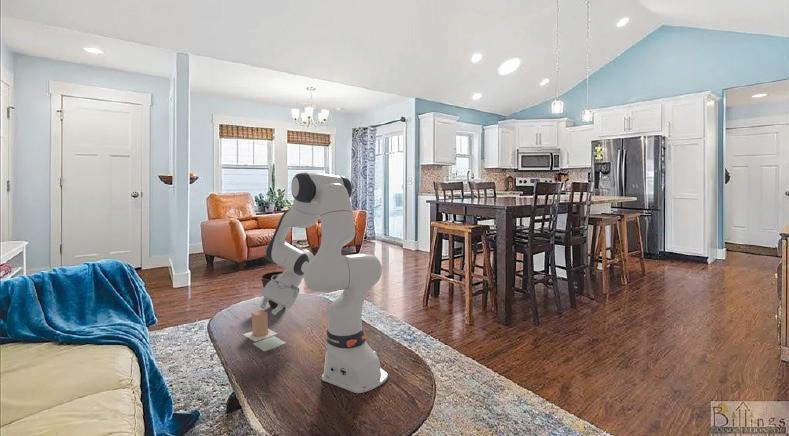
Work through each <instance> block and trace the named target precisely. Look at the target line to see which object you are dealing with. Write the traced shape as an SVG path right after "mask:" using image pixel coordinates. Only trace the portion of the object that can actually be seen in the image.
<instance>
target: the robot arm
mask: <svg viewBox="0 0 789 436" xmlns="http://www.w3.org/2000/svg"><path fill="white" fill-rule="evenodd" d="M290 190H291V195H292V197H293V202H292V207H291V208H290V209H289V208H288V209H287V210H285V211H284V212H283V213H282V215H281V217H280V219H279V221H278V223H277V226H276V228H275V230H274V232H273V235H272V238H271V240H270V241H269V243H268V245H267V246H266V249H265V256H266V259H267V260H268V261H270V262H271V263H274V264H277V265H278V266H280V267H281V268H283V269H285V270H283V271H282V272H283V273H282V274H279V275H273V276H272V277H271V281H269V282H268V283H267V285H266V286H265V287H264V288H263V289H262V290H261V293H260V295H261V296H262V297H263V298H262V300H261V304H260V305H259V308H261V310H265V309H266V307H267V304H268V303H269V302H268V301H269V300H271V301H273V302H275V303H277V304H278V305H277V307H276V308H275V309H271V311H270V313H271V314H272V315H274V316H276V315H277V314H278V313H279V312H281V311H282V310H283V309H284V308H283V307H285V308H286V309H288V310H289V309H290V308H292V307H293V306H294V304H295V302H296V301H297V298H298V295H299V294H300V288H299V286H300V284H301V283H302V280H303V279H304V284H305V285H306V286H307V288H308V289H309V290H310V291H312V292H321V293H324V292H325V293H328V292H335V291H341V290H342V293H341V294H340V295H339V296H338V297H337V298H336V299H334V300H333V301H332V302H331V303H330V304H329V305H328V309H327V330H326V342H327V346H326V351H325V354H324V364H323V365H324V366H323V367H324V368H323V373H322V374H321V381H323V382H325V383H329V384H331V385H333V386H336V387H339V388H341V389H344V390H347V391H349V392H352V393H354V394H362V393H366V392H369V391H372V390H373V389H374V390H375V389H376V388H378V387H379V386H381V385H382V384H384V383H385V382H386V381H387V380H388V378H389V374H388V373H387V371H385V370H384V369H383V368H382V367H381V361H380V358H379V357H378V354H377V351H375V350H373V349H372V347H370V345H369V344H368V343H367V341H366V339H368V334H365V330H364V329H363V327H362V321H363V319H362V317H363V308H364V307H363V305H364V302H365V300H366V298H367V295H368V294H369V292H370V290H372V288H373V287H374V285H376V284H378V282H379V281H380V279H381V276H382V273H383V266H382V264H381V261H380V260H379V258H378V257H377V256H375V255H373V254H366V253H358V254H347V255H346V254H345V255H342V248H343V247H345V246H346V245H348V244H349V243H350V242H352V241H353V240H354V239H355V236H356V226H355V220H354V219H355V218H354V211H353V206H352V201H351V196H352V193H353V187H352V183H351V181H350V179H349V178H348V177H346V176H343V175H335V174H328V173H324V172H300V173H296V174H295V175H294V177H293V178H292V181H291V186H290ZM319 219H320V229H321V239H320V240H321V241H320V246H319V248H318V251H317V252H316V254H313V252H311V251H310V250H309V249H306V248H302V249H300V248H297V247H295V246H294V245H292V244H289V243H288V241H287V240H286V238H287V236H288V233H289V232H290V229H291V228H298V229H306V228H310V227H313V226H314V225H316V224H317V223H318V221H319Z"/></svg>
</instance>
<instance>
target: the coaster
mask: <svg viewBox="0 0 789 436" xmlns="http://www.w3.org/2000/svg"><path fill="white" fill-rule="evenodd" d="M286 344H287V342H286V341H284V340H281V339H280V338H278V337H277V336H275V335H273V336H270V337H267V338H264V339H261V340H258V341H255V342H253V343H252V345H253V346H255V347H256V348H258V349H259V350H261V351H262V352H267V351H270V350H273V349H275V348H278V347H281V346H284V345H286Z"/></svg>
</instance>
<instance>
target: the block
mask: <svg viewBox="0 0 789 436" xmlns="http://www.w3.org/2000/svg"><path fill="white" fill-rule="evenodd" d="M251 325H252V326H251V327H252V329H251V330H252V331H251V332H252V333H253V335H255V336H257V337H260V336H263V335H266V334H268V329H269V317H268V312H267V311H265V310H264V309H259V310H257V311H253V312H251Z"/></svg>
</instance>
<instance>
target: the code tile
mask: <svg viewBox="0 0 789 436" xmlns="http://www.w3.org/2000/svg"><path fill="white" fill-rule="evenodd" d="M242 335H244V336H245V337H246V338H248V339H250V340H252V341H253V343H255V342H258V341H261V340H264V339H267V338H270V337H273V336H275V335H278V333H277V332H275V331H274V330H272V329H270V328H268V334H266V335H263V336H260V337H257V336H255V335H253V333H252V331H249V332H246V333H243V334H242Z"/></svg>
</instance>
